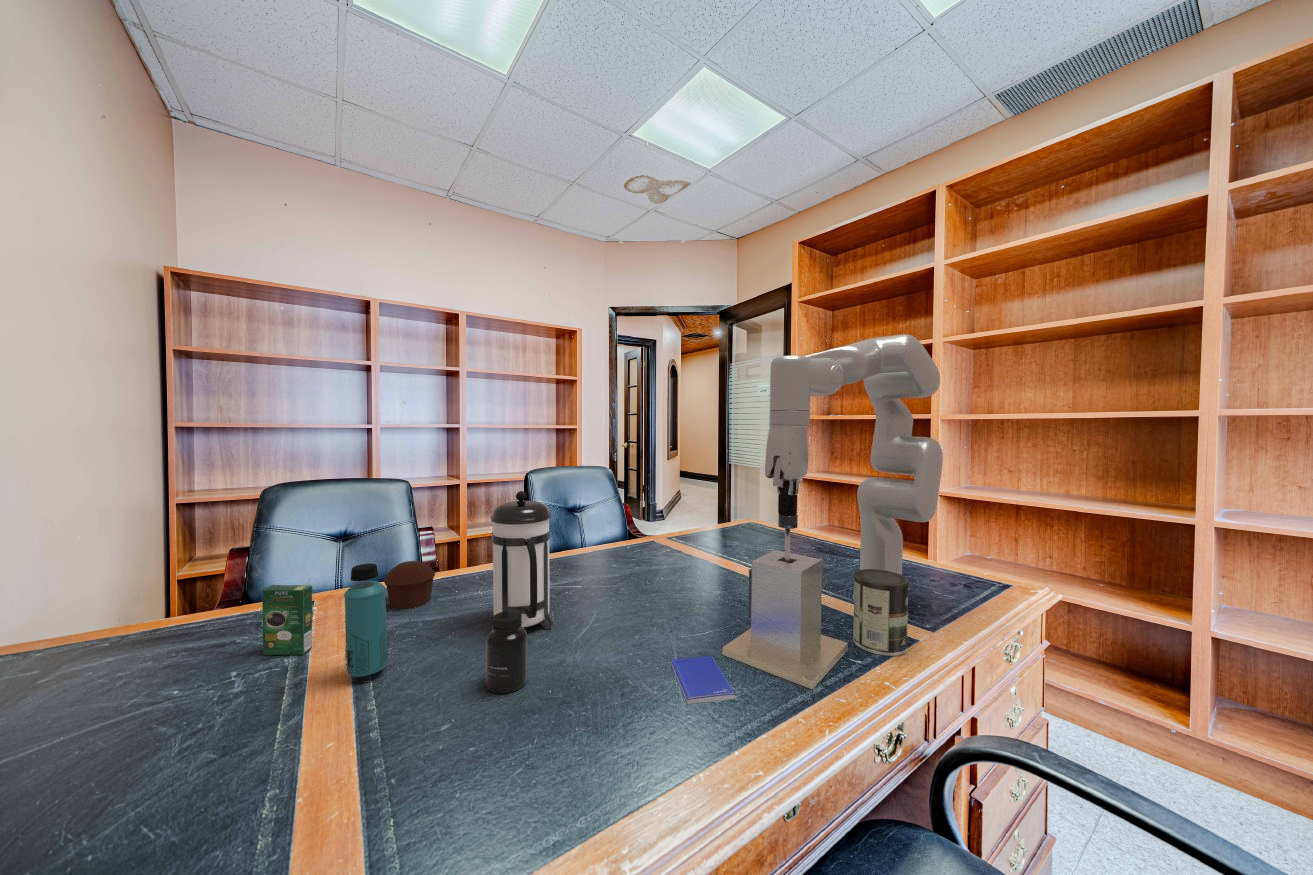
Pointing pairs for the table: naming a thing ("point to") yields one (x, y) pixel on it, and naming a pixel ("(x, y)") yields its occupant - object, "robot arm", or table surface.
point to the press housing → (786, 621)
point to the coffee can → (880, 612)
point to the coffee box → (287, 619)
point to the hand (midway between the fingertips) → (787, 514)
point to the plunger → (787, 531)
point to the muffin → (409, 584)
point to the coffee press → (521, 560)
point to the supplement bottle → (506, 653)
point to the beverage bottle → (365, 623)
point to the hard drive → (702, 680)
